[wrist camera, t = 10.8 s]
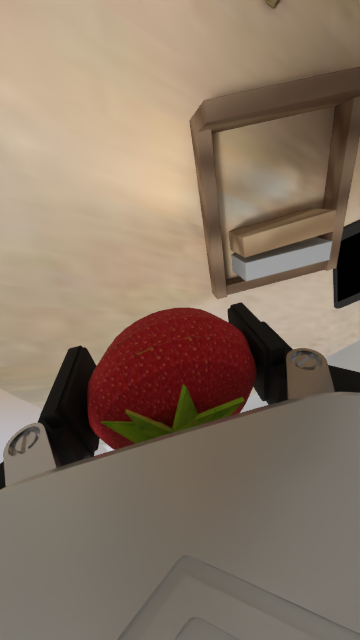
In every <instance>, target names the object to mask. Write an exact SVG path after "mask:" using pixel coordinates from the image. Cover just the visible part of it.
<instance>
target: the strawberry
mask: <svg viewBox="0 0 360 640" xmlns="http://www.w3.org/2000/svg"><path fill="white" fill-rule="evenodd" d="M256 369H257V368H256V364H255V361H254V358H253V355H252V352H251V349H250V346H249V344H248V341H247V339H246V338H245V336H244V335H243V333H242V332H241V331H240V330H239V329H237V328H236V327H235V326H233V325H232V324H230V323H228V322H226V321H224V320H222V319H221V318H219V317H217V316H215V315H213V314H211V313H209V312H206V311H203V310H201V309H194V308H173V309H167V310H162V311H158V312H155V313H152V314H150V315H148V316H146V317H144V318H142V319H140V320H138V321H136V322H134V323H133V324H132V325H130V326H129V327H127V328H126V329H125V330H124V331H122V332H121V333H120V334H119V335H118V336H117V337H116V338H115V340H114V341H113V342H112V344H111V345H110V346H109V348H108V349H107V351H106V352H105V354H104V355H103V357H102V359H101V360H100V362H99V363H98V365H97V366H96V368H95V369H94V371H93V374H92V376H91V378H90V380H89V383H88V390H87V409H88V419H89V425H90V427H91V428H92V430H93V432H94V433H95V434H96V435H97V436H98V437H99V438H100V439H102V440H103V441H104V442H105V443H106V444H108V445H109V446H110V447H111V448H113V449H115V450H116V449H120V448H123V447H126V446H130V445H133V444H136V443H140V442H143V441H147V440H150V439H153V438H157V437H160V436H163V435H167V434H170V433H174V432H177V431H180V430H184V429H187V428H191V427H194V426H197V425H201V424H204V423H208V422H211V421H215V420H218V419H222V418H225V417H229V416H232V415H235V414H239V413H240V412H241V410H242V409H243V407H244V405H245V404H246V402H247V399H248V397H249V395H250V393H251V390H252V388H253V385H254V382H255V379H256Z"/></svg>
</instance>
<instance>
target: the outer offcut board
mask: <svg viewBox="0 0 360 640" xmlns="http://www.w3.org/2000/svg"><path fill="white" fill-rule="evenodd" d="M331 246H332V241H329V240H325V239H321V238H317V237H312V238H309V239H306V240H302V241H299V242H296V243H292V244H289V245H286V246H282V247H279V248H276V249H272V250H269V251H266V252H262V253H259V254H255V255H252V256H249V257H243V256H241V255H239V254H238V253H236V254H232V255H231V257H232V270H233V271H234V272H235V273H236V274H237V275H239V276H240V277H241V278H242V279H244V280H245V281H249V280H253V279H257V278H261V277H265V276H269V275H273V274H276V273H280V272H284V271H288V270H292V269H296V268H300V267H303V266H307V265H311V264H315V263H319V262H323V261H327V260H329V259H330V253H331Z"/></svg>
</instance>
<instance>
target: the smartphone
mask: <svg viewBox="0 0 360 640" xmlns="http://www.w3.org/2000/svg"><path fill="white" fill-rule="evenodd" d="M333 284H334V307H335V308H342V307H344V306H347V305H349V304H351V303H354V302H356V301H359V300H360V220H358V221H356V222H353V223H351V224H349V225H347V226H345V227H343V232H342V238H341V243H340V249H339V255H338V260H337V266H336V268H335V269H333Z"/></svg>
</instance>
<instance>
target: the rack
mask: <svg viewBox="0 0 360 640" xmlns="http://www.w3.org/2000/svg"><path fill="white" fill-rule="evenodd" d="M333 106H336V109H335V117H334V125H333V132H332V140H331V148H330V156H329V164H328V172H327V180H326V187H325V195H324V203H323V209H328V210H336V215H335V224H334V231H332V232H329V233H326V234H322V235H319V238H321V239H325V240H329V241H332V246H331V253H330V259H329V260H327V261H323V262H319V263H315V264H311V265H307V266H303V267H300V268H296V269H292V270H288V271H284V272H280V273H276V274H273V275H269V276H265V277H261V278H257V279H253V280H249V281H245V280H244V279H242V278H241V277H237V278H233V279H229V280H225V271H224V260H223V250H222V239H221V228H220V218H219V207H218V197H217V186H216V176H215V165H214V155H213V144H212V134H211V133H216V132H220V131H225V130H229V129H234V128H238V127H243V126H247V125H252V124H256V123H261V122H265V121H270V120H274V119H279V118H283V117H288V116H292V115H297V114H301V113H306V112H310V111H315V110H319V109H324V108H328V107H333ZM190 127H191V135H192V142H193V150H194V158H195V165H196V173H197V180H198V188H199V195H200V203H201V211H202V218H203V226H204V233H205V241H206V248H207V256H208V264H209V271H210V279H211V286H212V293H213V294H214V296H215V297H216V298H217V299H220V298H224V297H227V295H229V294H233V293H237V292H241V291H245V290H248V289H252V288H256V287H260V286H264V285H268V284H271V283H275V282H279V281H283V280H287V279H291V278H294V277H298V276H302V275H306V274H310V273H314V272H317V271H321V270H331V269H335V268H336V266H337V260H338V255H339V249H340V243H341V238H342V232H343V227H344V221H345V215H346V210H347V204H348V199H349V193H350V187H351V182H352V176H353V170H354V165H355V159H356V154H357V148H358V142H359V137H360V67H356V68H352V69H347V70H342V71H338V72H333V73H328V74H324V75H319V76H314V77H310V78H305V79H300V80H296V81H291V82H286V83H282V84H277V85H272V86H268V87H263V88H258V89H254V90H249V91H244V92H240V93H235V94H230V95H226V96H221V97H216V98H212V99H207V100H204V101H203V102H202V104H201V105H200V107H199V108H198V109H197V111H196V112H195V114H194V115H193V116H192V118H191V119H190Z"/></svg>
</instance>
